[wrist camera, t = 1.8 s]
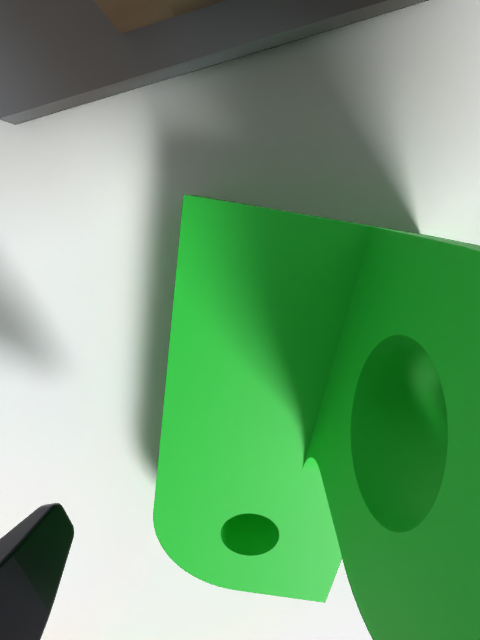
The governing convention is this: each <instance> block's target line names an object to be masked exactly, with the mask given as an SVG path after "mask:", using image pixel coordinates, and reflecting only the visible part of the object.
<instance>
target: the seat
mask: <svg viewBox="0 0 480 640" xmlns="http://www.w3.org/2000/svg"><path fill="white" fill-rule="evenodd" d="M425 1H428V0H0V120H3V121H6V122H9V123H12V124H15V125H16V124H19V123H23V122H26V121H29V120H33V119H36V118H39V117H43V116H46V115H49V114H53V113H56V112H59V111H62V110H66V109H69V108H72V107H76V106H79V105H82V104H86V103H89V102H92V101H96V100H99V99H102V98H106V97H109V96H112V95H116V94H119V93H122V92H126V91H129V90H132V89H136V88H139V87H142V86H146V85H149V84H152V83H155V82H159V81H162V80H165V79H169V78H172V77H175V76H179V75H182V74H185V73H189V72H192V71H195V70H199V69H202V68H205V67H209V66H212V65H215V64H219V63H222V62H225V61H229V60H232V59H235V58H239V57H242V56H245V55H248V54H252V53H255V52H258V51H262V50H265V49H268V48H272V47H275V46H278V45H282V44H285V43H288V42H292V41H295V40H298V39H302V38H305V37H308V36H312V35H315V34H318V33H322V32H325V31H328V30H332V29H335V28H338V27H342V26H345V25H348V24H351V23H355V22H358V21H361V20H365V19H368V18H371V17H375V16H378V15H381V14H385V13H388V12H391V11H395V10H398V9H401V8H405V7H408V6H411V5H415V4H418V3H421V2H425Z"/></svg>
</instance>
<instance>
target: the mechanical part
mask: <svg viewBox="0 0 480 640" xmlns="http://www.w3.org/2000/svg"><path fill="white" fill-rule="evenodd" d="M153 521H154V528H155V532H156V535H157V537H158V540H159V542H160V544H161V546H162V547H163V549H164V550H165V552H166V553H167V555H168V556H169V557H170V558H171V559H172V560H173V561H174V562H175V563H176V564H177V565H178V566H180V567H181V568H182V569H184V570H185V571H186V572H188V573H189V574H191V575H193V576H194V577H196V578H198V579H200V580H203V581H205V582H207V583H210V584H213V585H216V586H219V587H223V588H227V589H233V590H239V591H246V592H253V593H260V594H267V595H274V596H281V597H289V598H296V599H303V600H310V601H317V602H324V603H325V601H326V599H327V596H328V593H329V591H330V588H331V586H332V583H333V581H334V578H335V575H336V573H337V570H338V568H339V565H340V562H341V560H342V559H343V563H344V566H345V570H346V574H347V577H348V580H349V583H350V586H351V589H352V592H353V595H354V598H355V601H356V603H357V606H358V608H359V611H360V613H361V616H362V618H363V620H364V622H365V625H366V627H367V629H368V631H369V633H370V635H371V637H372V639H373V640H480V246H479V245H474V244H469V243H464V242H459V241H454V240H449V239H444V238H439V237H434V236H428V235H423V234H418V233H412V232H406V231H400V230H394V229H389V228H383V227H377V226H371V225H365V224H359V223H353V222H347V221H342V220H336V219H330V218H324V217H318V216H312V215H306V214H300V213H295V212H289V211H283V210H277V209H271V208H265V207H259V206H253V205H248V204H242V203H236V202H230V201H224V200H218V199H212V198H206V197H201V196H192V195H183V204H182V215H181V226H180V236H179V247H178V257H177V268H176V278H175V289H174V300H173V310H172V321H171V331H170V342H169V353H168V363H167V374H166V384H165V395H164V405H163V416H162V427H161V437H160V448H159V458H158V469H157V479H156V490H155V501H154V511H153Z"/></svg>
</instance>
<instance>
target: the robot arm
mask: <svg viewBox="0 0 480 640" xmlns="http://www.w3.org/2000/svg"><path fill="white" fill-rule="evenodd" d="M73 537H74V528H73V525H72V523H71V521H70V519H69V517H68V516H67V514H66V512H65V510H64V508H63V507H62V505H61V504H59V503H53V504H47V505H43V506H41V507H39V508H38V509H36V510H35V511H34V512H33V513H32V514H30V515H29V516H28V517H27V518H25V519H24V520H23V521H22V522H21V523H19V524H18V525H17V526H16V527H14V528H13V529H12V530H11V531H10V532H8V533H7V534H6V535H5V536H3V537H2V538H1V539H0V640H40V639H41V636H42V634H43V631H44V629H45V626H46V623H47V621H48V618H49V615H50V612H51V609H52V606H53V603H54V600H55V597H56V593H57V590H58V587H59V584H60V580H61V577H62V574H63V570H64V567H65V564H66V560H67V557H68V554H69V550H70V547H71V544H72V540H73Z"/></svg>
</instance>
